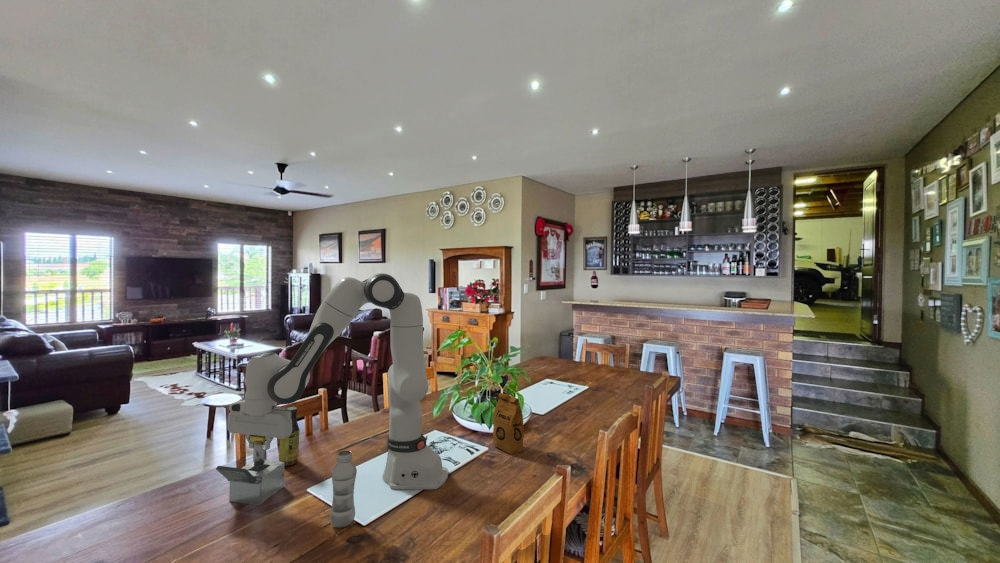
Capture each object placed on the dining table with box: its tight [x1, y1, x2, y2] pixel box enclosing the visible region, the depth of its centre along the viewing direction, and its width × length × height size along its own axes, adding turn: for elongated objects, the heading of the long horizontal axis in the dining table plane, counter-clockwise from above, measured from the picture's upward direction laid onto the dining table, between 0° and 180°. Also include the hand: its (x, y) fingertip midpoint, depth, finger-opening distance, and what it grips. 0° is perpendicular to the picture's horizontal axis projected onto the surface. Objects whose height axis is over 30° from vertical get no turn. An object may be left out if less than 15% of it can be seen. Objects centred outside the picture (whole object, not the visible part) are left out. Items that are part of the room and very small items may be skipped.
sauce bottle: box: [278, 406, 301, 467], centre depth 148 cm, size 6×6×20 cm
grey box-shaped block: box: [228, 459, 285, 506], centre depth 127 cm, size 10×11×8 cm
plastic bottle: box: [329, 450, 358, 529], centre depth 114 cm, size 6×7×20 cm
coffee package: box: [492, 392, 525, 456], centre depth 167 cm, size 10×12×22 cm
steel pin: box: [250, 435, 267, 466], centre depth 128 cm, size 5×5×9 cm
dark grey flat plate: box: [215, 465, 259, 484], centre depth 119 cm, size 9×8×1 cm
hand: (259, 448), depth 128 cm, fingers closed on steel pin, 3 cm apart
